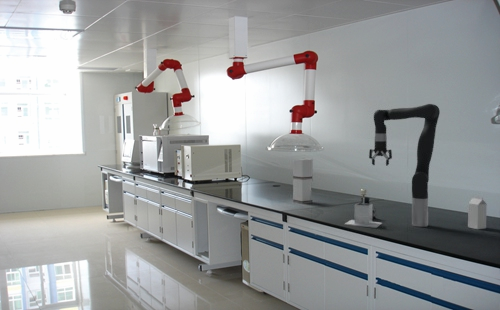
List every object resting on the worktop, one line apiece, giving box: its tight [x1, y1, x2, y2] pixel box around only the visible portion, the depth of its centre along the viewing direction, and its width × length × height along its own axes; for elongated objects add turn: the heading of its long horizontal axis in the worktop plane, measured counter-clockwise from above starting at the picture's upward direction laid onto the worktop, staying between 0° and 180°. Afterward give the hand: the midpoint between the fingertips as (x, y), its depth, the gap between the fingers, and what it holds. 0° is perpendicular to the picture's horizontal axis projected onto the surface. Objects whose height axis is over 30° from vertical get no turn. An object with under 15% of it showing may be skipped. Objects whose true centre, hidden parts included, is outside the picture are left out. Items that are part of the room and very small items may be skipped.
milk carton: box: [467, 195, 487, 230], centre depth 291 cm, size 7×7×19 cm
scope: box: [360, 196, 377, 220], centre depth 323 cm, size 8×14×10 cm
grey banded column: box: [292, 158, 314, 205], centre depth 390 cm, size 11×11×35 cm
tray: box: [344, 219, 383, 229], centre depth 304 cm, size 20×14×1 cm
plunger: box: [360, 189, 367, 205], centre depth 303 cm, size 7×7×17 cm
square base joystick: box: [353, 202, 373, 225], centre depth 304 cm, size 9×9×12 cm
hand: (380, 165), depth 315 cm, fingers open, 8 cm apart
